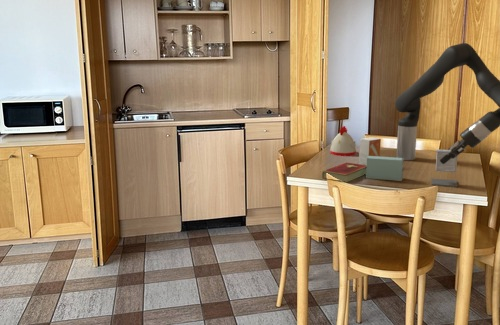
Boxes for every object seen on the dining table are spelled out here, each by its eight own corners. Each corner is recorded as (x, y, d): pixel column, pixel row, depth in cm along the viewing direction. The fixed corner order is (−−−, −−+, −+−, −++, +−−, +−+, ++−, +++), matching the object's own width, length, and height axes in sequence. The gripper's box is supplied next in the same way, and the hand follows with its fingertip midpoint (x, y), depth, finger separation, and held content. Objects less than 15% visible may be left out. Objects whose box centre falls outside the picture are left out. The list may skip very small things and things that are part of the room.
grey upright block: (455, 170, 200) (457, 150, 198) (456, 172, 196) (457, 152, 194) (435, 169, 203) (436, 149, 201) (435, 171, 199) (437, 151, 197)
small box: (368, 166, 231) (369, 140, 228) (358, 164, 236) (359, 138, 233) (379, 164, 235) (381, 138, 232) (370, 162, 240) (371, 136, 237)
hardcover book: (322, 179, 211) (322, 170, 210) (345, 170, 227) (345, 161, 226) (346, 183, 204) (346, 174, 203) (368, 174, 219) (369, 165, 218)
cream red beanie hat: (325, 154, 260) (326, 126, 257) (336, 149, 272) (337, 123, 268) (349, 157, 253) (350, 129, 249) (359, 152, 264) (360, 125, 260)
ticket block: (367, 175, 215) (368, 155, 213) (402, 178, 210) (403, 157, 208) (366, 178, 210) (366, 157, 208) (401, 180, 205) (403, 160, 203)
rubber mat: (431, 179, 206) (431, 178, 206) (456, 181, 203) (456, 180, 203) (431, 185, 198) (431, 183, 198) (457, 187, 195) (457, 185, 195)
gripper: (467, 124, 199) (434, 151, 206) (470, 129, 186) (434, 158, 193) (480, 137, 198) (447, 164, 205) (483, 143, 185) (447, 171, 192)
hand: (441, 161), depth 199 cm, fingers closed on grey upright block, 4 cm apart
